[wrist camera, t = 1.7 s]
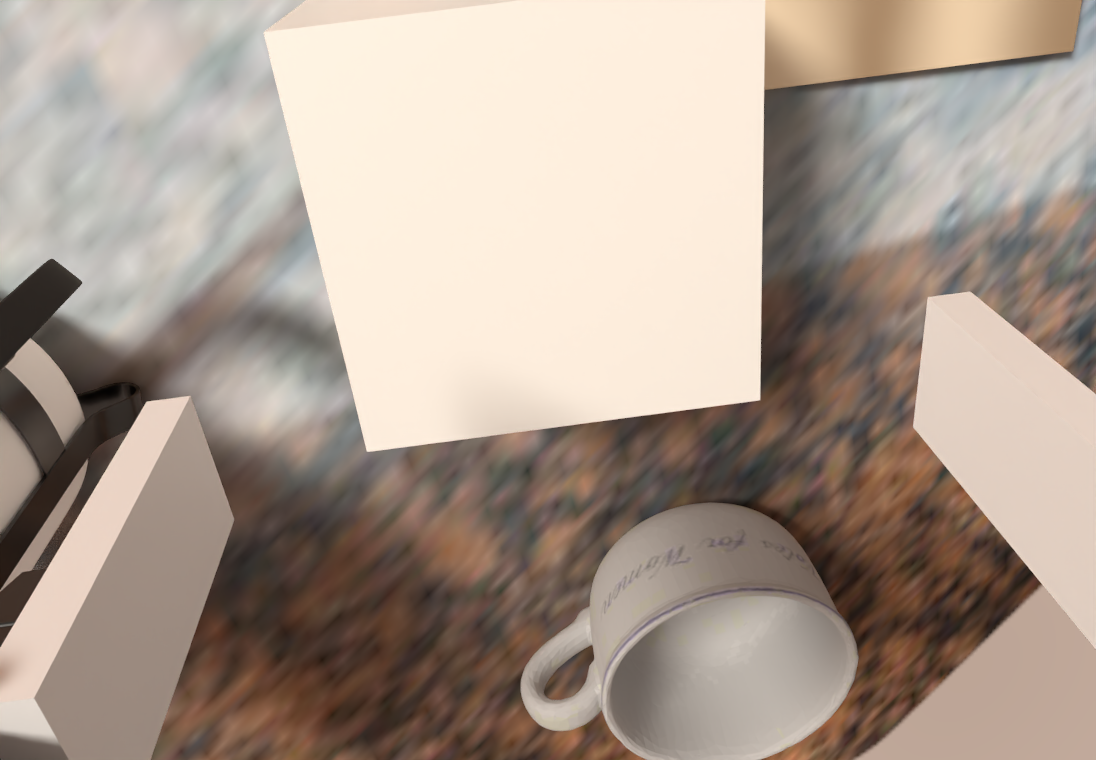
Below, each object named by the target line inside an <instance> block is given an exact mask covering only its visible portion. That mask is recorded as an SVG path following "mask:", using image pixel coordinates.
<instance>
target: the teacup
mask: <svg viewBox="0 0 1096 760" xmlns="http://www.w3.org/2000/svg"><path fill="white" fill-rule="evenodd" d="M591 645H593V651H594V661H593V662H592V663H591V664H590V666H589V671H588V676H587V679H586V682H585V684H584V685H583V687H582V688H581V690H580V691H579V692H577V693H576V694H575V695H574V696H572V697H570V698H566V699H563V700H551V699H549V698H547V697H546V696H545V695H544V688H545V685H546V683H547V682H548V680H549V678H550V677H551V676H552V675H553V674H554V672H555V671H556V670H557V669H558V668H559V667H560V666H561V665H562V664H564V663H565V662H566V661H567V660H568V659H570V658H571V657H573V656H574V655H575V654H577V653H578V652H580V651H582V650H583V649H585V648H587V647H589V646H591ZM858 658H859V657H858V652H857V646H856V642H855V639H854V636H853V633H852V631H851V629H850V627H849V625H848V624H847V622H846V621H845V620H844V618H843V617H842V616H841V615H840V614H839V613H838V611H837V609H836V607H835V605H834V603H833V601H832V599H831V597H830V595H829V593H828V591H827V589H826V587H825V585H824V584H823V582H822V580H821V578H820V576H819V574H818V573H817V571H816V569H815V568H814V566H813V564H812V563H811V561H810V559H809V558H808V556H807V554H806V553H805V551H804V550H803V549H802V547H801V546H800V545H799V543H798V542H797V541H796V540H795V538H794V537H793V536H792V535H791V534H790V533H789V532H788V531H787V530H786V529H785V528H784V527H782V526H781V525H780V524H779V523H777V522H776V521H774V520H773V519H771V518H769V517H768V516H766V515H764V514H762V513H760V512H758V511H755V510H753V509H750V508H747V507H743V506H739V505H735V504H728V503H716V502H709V503H696V504H690V505H684V506H679V507H676V508H673V509H670V510H667V511H664V512H661V513H658V514H656V515H654V516H652V517H650V518H648V519H646V520H644V521H643V522H641V523H639V524H638V525H636V526H635V527H634V528H632V529H631V530H629V531H628V532H627V533H626V534H624V535H623V536H622V537H621V538H620V539H619V540H618V541H617V542H616V543H615V544H614V545H613V547H612V548H611V549H610V550H609V552H608V553H607V554H606V556H605V557H604V559H603V560H602V562H601V564H600V566H599V568H598V570H597V572H596V575H595V578H594V581H593V585H592V590H591V595H590V606H589V607H587V608H584V609H583V610H582V611H581V612H580V613H579V614H578V616H577V618H576V620H575V621H574V622H573V623H572V624H571V625H569V626H568V627H566V628H565V629H563V630H562V631H561V632H559V633H558V634H557V635H555V636H554V637H553V638H551V639H550V640H549V641H548V642H546V643H545V644H544V645H543V646H542V647H541V648H540V649H539V650H538V651H537V652H536V653H535V654H534V655H533V656H532V658H531V659H530V661H529V662H528V663H527V665H526V667H525V669H524V672H523V675H522V679H521V695H522V700H523V703H524V705H525V707H526V709H527V711H528V712H529V714H530V716H531V717H532V718H533V719H534V720H535V721H536V722H537V723H538V724H539V725H541V726H542V727H544V728H547V729H550V730H553V731H567V730H573V729H575V728H578V727H580V726H583V725H585V724H586V723H588V722H589V721H590V720H592V719H593V718H594V717H595V716H596V715H597V714H598V713H599V712H600V711H601V710H602V712H603V715H604V717H605V720H606V723H607V724H608V726H609V728H610V730H611V731H612V733H613V734H614V735H615V736H616V737H617V738H618V739H619V740H620V741H621V742H622V744H623V745H624V746H625V747H627V748H628V749H629V750H630V751H632V752H633V753H635V754H636V755H638V756H640V757H642V758H644V759H647V760H760V759H763V758H766V757H768V756H771V755H773V754H776V753H778V752H781V751H783V750H784V749H786V748H788V747H790V746H792V745H794V744H796V743H798V742H800V741H802V740H803V739H804V738H806V737H807V736H809V735H810V734H812V733H813V732H814V731H816V730H817V729H818V728H819V727H821V726H822V725H823V724H824V723H825V722H826V721H827V720H828V719H829V718H830V717H831V716H832V715H833V714H834V713H835V711H836V710H837V709H838V708H839V706H840V705H841V704H842V702H843V701H844V699H845V698H846V696H847V694H848V692H849V689H850V687H851V685H852V683H853V681H854V679H855V674H856V669H857V664H858Z"/></svg>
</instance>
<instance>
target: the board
mask: <svg viewBox="0 0 1096 760" xmlns="http://www.w3.org/2000/svg"><path fill="white" fill-rule="evenodd" d="M1081 3H1082V0H765V62H764V90H768V89H776V88H784V87H792V86H800V85H808V84H816V83H824V82H832V81H840V80H848V79H856V78H864V77H872V76H880V75H887V74H895V73H903V72H911V71H919V70H927V69H935V68H943V67H951V66H959V65H967V64H975V63H983V62H991V61H999V60H1007V59H1014V58H1022V57H1030V56H1038V55H1046V54H1054V53H1062V52H1070V51H1073V49H1074V43H1075V38H1076V32H1077V26H1078V20H1079V15H1080V9H1081Z"/></svg>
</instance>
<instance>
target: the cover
mask: <svg viewBox="0 0 1096 760" xmlns="http://www.w3.org/2000/svg"><path fill="white" fill-rule="evenodd" d="M264 36H265V40H266V44H267V49H268V53H269V57H270V61H271V65H272V69H273V73H274V77H275V81H276V85H277V89H278V93H279V97H280V101H281V105H282V109H283V113H284V117H285V121H286V125H287V129H288V134H289V138H290V142H291V146H292V150H293V154H294V158H295V162H296V166H297V170H298V174H299V178H300V182H301V186H302V190H303V194H304V198H305V202H306V206H307V210H308V215H309V219H310V223H311V227H312V231H313V235H314V239H315V243H316V247H317V251H318V255H319V259H320V263H321V267H322V271H323V275H324V279H325V283H326V287H327V291H328V295H329V300H330V304H331V308H332V312H333V316H334V320H335V324H336V328H337V332H338V336H339V340H340V344H341V348H342V352H343V356H344V360H345V364H346V368H347V372H348V376H349V381H350V385H351V389H352V393H353V397H354V401H355V405H356V409H357V413H358V417H359V421H360V425H361V429H362V433H363V437H364V441H365V445H366V449H367V452H371V451H379V450H386V449H394V448H402V447H409V446H417V445H424V444H432V443H439V442H447V441H455V440H462V439H470V438H477V437H485V436H493V435H500V434H508V433H515V432H523V431H531V430H538V429H546V428H553V427H561V426H569V425H576V424H584V423H591V422H599V421H607V420H614V419H622V418H629V417H637V416H644V415H652V414H660V413H667V412H675V411H682V410H690V409H698V408H705V407H713V406H720V405H728V404H736V403H743V402H751V401H758V400H760V375H761V297H762V219H763V141H764V62H765V0H306V1H305V2H303V3H302V4H301V5H299V6H298V7H297V8H295V9H294V10H293V11H291V12H290V13H289V14H287V15H286V16H285V17H283V18H282V19H280V20H279V21H278V22H276V23H275V24H274V25H272V26H271V27H270V28H268V29H267V30H266V31H264Z"/></svg>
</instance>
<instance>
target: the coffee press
mask: <svg viewBox="0 0 1096 760" xmlns="http://www.w3.org/2000/svg"><path fill="white" fill-rule="evenodd" d="M81 284H82V281H81V280H79V279H78V278H77V277H76V276H74V275H73V274H72V273H71V272H69V271H68V270H67V269H65V268H64V267H63V266H62V265H60V264H59V263H58V262H56V261H55V260H54V259H50V260H48V261H47V262H46V263H44V264H43V265H42V266H41V267H40V268H38V269H37V270H36V271H35V272H34V273H33V274H32V275H30V276H29V277H28V278H27V279H26V280H25V281H24V282H23V283H21V284H20V285H19V286H18V287H17V288H16V289H15V290H14V291H12V292H11V293H10V294H9V295H8V296H7V297H6V298H5V299H4V300H2V301H1V302H0V591H1V590H3V589H4V588H5V587H6V586H7V585H8V584H9V583H11V582H12V581H13V580H14V579H15V578H16V577H17V576H18V575H20V574H21V573H22V572H26V571H31V570H32V569H33V567H34V565H35V564H36V562H37V561H38V559H39V557H40V556H41V554H42V553H43V551H44V549H45V548H46V546H47V545H48V543H49V541H50V540H51V538H52V537H53V535H54V533H55V532H56V530H57V529H58V527H59V525H60V524H61V522H62V520H63V519H64V517H65V515H66V514H67V512H68V510H69V509H70V507H71V505H72V504H73V502H74V500H75V498H76V496H77V494H78V492H79V490H80V488H81V486H82V483H83V480H84V477H85V474H86V470H87V464H88V458H89V456H90V455H91V454H92V452H93V451H94V450H95V449H96V448H97V447H98V446H99V445H100V444H102V443H103V442H105V441H107V440H108V439H110V438H112V437H114V436H116V435H118V434H120V433H123V432H125V431H127V430H129V429H131V427H132V425H133V424H134V422H135V420H136V419H137V417H138V415H139V414H140V412H141V410H142V409H143V406H142V400H141V395H140V389H139V387H138V386H137V385H135V384H133V383H114V384H110V385H107V386H104V387H101V388H98V389H95V390H92V391H89V392H85V393H82V394H77V395H76V394H75V392H74V390H73V389H72V387H71V385H70V383H69V382H68V380H67V378H66V377H65V375H64V374H63V372H62V371H61V370H60V368H59V367H58V366H57V365H56V363H55V362H54V361H53V360H52V359H51V357H50V356H49V355H48V354H47V353H46V352H45V351H44V350H43V349H42V348H41V347H40V346H39V345H38V344H37V343H35V342H34V341H33V340H32V339H31V337H32V336H33V335H34V334H35V333H36V332H37V331H38V329H39V328H40V327H41V326H42V325H43V324H44V323H45V322H46V321H47V320H48V319H49V318H50V317H51V316H52V315H53V314H54V313H55V312H56V311H57V310H58V308H59V307H60V306H61V305H62V304H63V303H64V302H65V301H66V300H67V299H68V298H69V297H70V296H71V295H72V294H73V293H74V292H75V291H76V290H77V289H78V287H79V286H80V285H81Z"/></svg>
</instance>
